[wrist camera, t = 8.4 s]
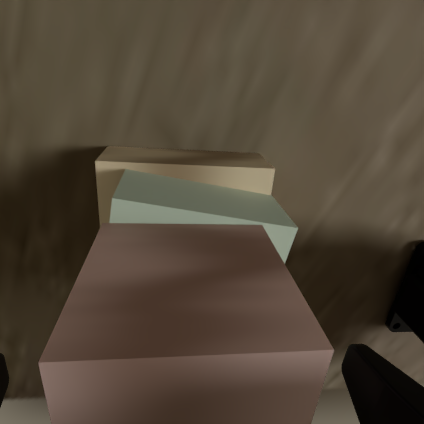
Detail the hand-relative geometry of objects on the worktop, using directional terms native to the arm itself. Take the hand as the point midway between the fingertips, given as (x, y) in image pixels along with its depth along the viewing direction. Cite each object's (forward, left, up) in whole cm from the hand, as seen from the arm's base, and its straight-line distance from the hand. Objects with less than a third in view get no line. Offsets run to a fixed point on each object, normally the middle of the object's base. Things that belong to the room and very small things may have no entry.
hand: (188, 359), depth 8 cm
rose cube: (0, 0, -3) cm, 3 cm away
